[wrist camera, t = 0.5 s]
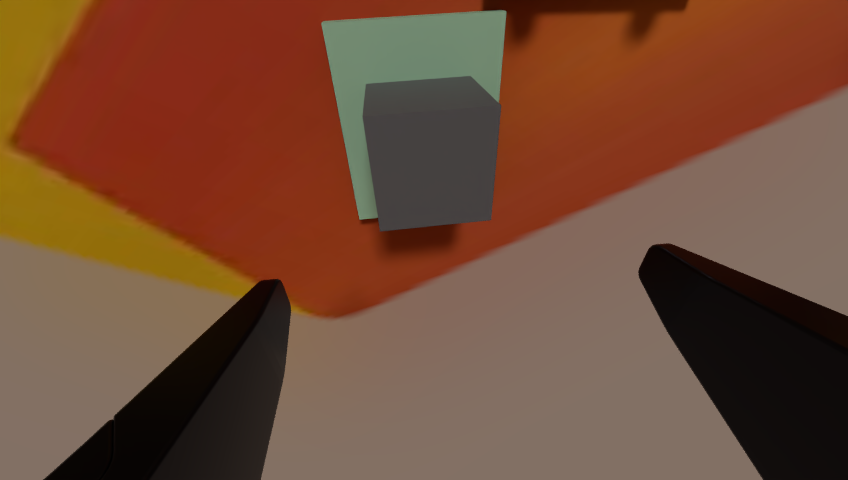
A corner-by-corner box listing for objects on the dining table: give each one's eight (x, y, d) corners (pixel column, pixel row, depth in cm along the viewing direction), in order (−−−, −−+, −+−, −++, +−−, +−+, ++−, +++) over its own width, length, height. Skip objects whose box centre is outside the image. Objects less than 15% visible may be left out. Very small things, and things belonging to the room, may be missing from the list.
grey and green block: (498, 9, 16) (554, 20, 11) (485, 196, 22) (516, 258, 17) (324, 20, 15) (300, 37, 10) (360, 209, 21) (355, 276, 16)
